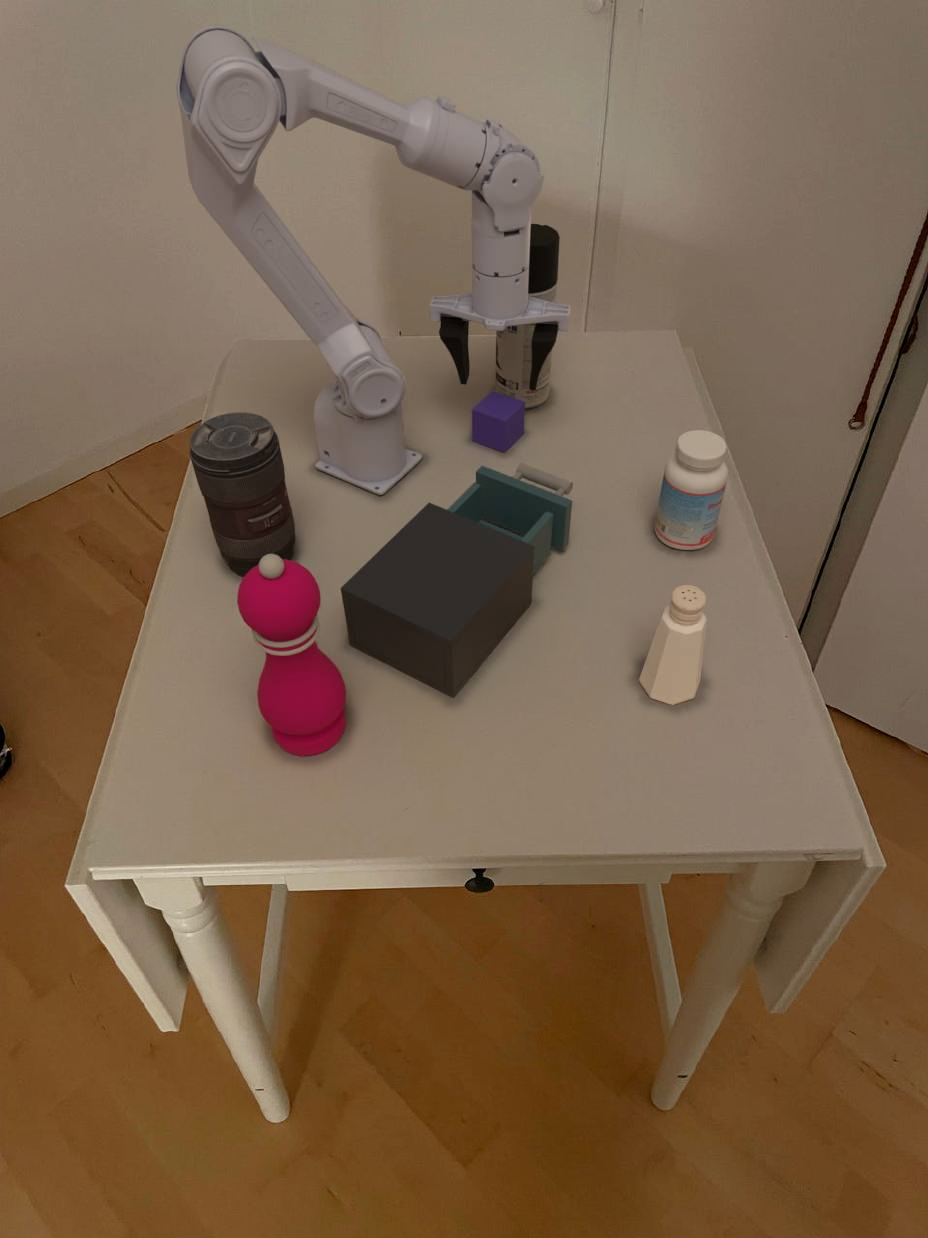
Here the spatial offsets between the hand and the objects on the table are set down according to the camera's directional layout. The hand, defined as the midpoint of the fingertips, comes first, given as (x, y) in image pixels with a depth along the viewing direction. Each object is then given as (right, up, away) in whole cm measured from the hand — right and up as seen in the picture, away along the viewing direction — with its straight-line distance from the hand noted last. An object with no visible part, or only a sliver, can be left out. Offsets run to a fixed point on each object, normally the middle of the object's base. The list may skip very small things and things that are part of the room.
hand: (499, 382), depth 101 cm
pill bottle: (+19, -17, -6) cm, 26 cm away
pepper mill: (-17, -36, -22) cm, 45 cm away
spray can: (+3, +1, +11) cm, 12 cm away
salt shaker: (+14, -32, -20) cm, 40 cm away
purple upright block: (0, -5, +5) cm, 7 cm away
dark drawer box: (-6, -27, -15) cm, 31 cm away
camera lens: (-25, -20, -8) cm, 33 cm away
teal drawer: (0, -19, -9) cm, 21 cm away
